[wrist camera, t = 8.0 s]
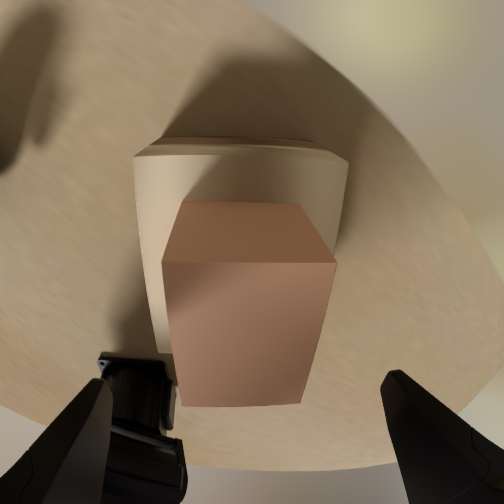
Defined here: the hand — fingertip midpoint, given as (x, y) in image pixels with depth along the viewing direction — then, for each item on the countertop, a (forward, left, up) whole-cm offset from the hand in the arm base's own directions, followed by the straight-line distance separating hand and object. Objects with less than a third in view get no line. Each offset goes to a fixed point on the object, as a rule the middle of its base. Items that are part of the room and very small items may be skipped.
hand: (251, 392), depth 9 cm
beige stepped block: (0, 0, -13) cm, 13 cm away
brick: (0, 0, -7) cm, 7 cm away
